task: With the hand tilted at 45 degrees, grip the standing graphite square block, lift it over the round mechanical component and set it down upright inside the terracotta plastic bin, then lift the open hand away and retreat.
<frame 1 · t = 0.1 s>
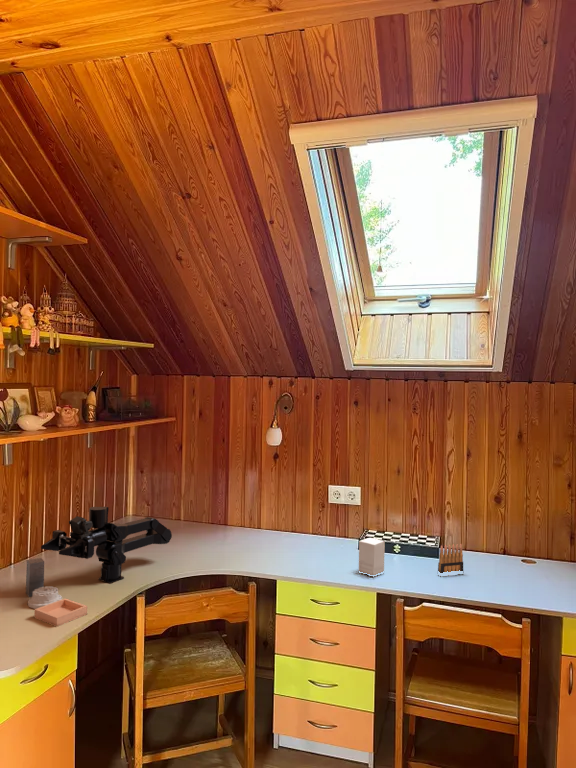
hand: (50, 550, 179), 17 cm above the table, tool horizontal, fingers open, 9 cm apart
mechanical component: (45, 604, 178), on the table
graphite square block: (34, 593, 185), on the table
ammunition clip: (450, 575, 216), on the table
supplement box: (371, 573, 216), on the table
terracotta bin: (61, 615, 168), on the table
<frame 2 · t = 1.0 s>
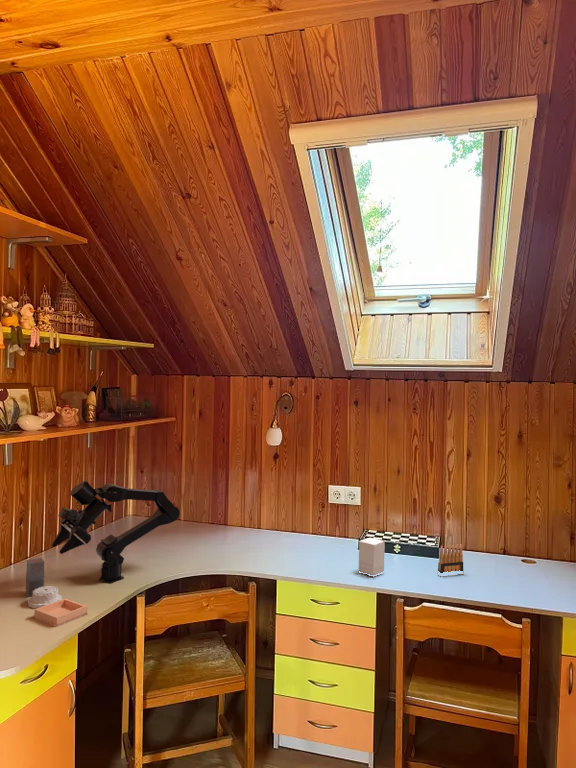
hand: (56, 549, 189), 14 cm above the table, tool tilted 45°, fingers open, 9 cm apart
nothing on the table moved.
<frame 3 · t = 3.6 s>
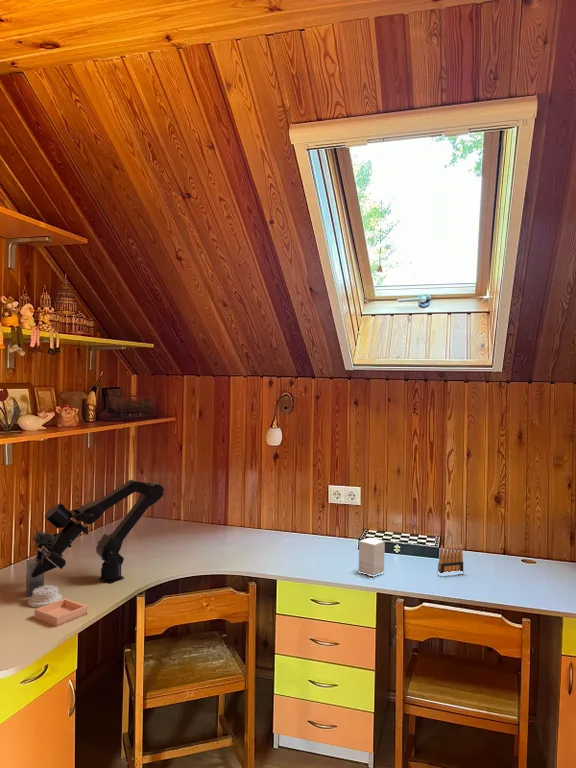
hand: (30, 574, 184), 7 cm above the table, tool tilted 45°, fingers closed on graphite square block, 4 cm apart
graphite square block: (34, 593, 185), on the table, touching gripper
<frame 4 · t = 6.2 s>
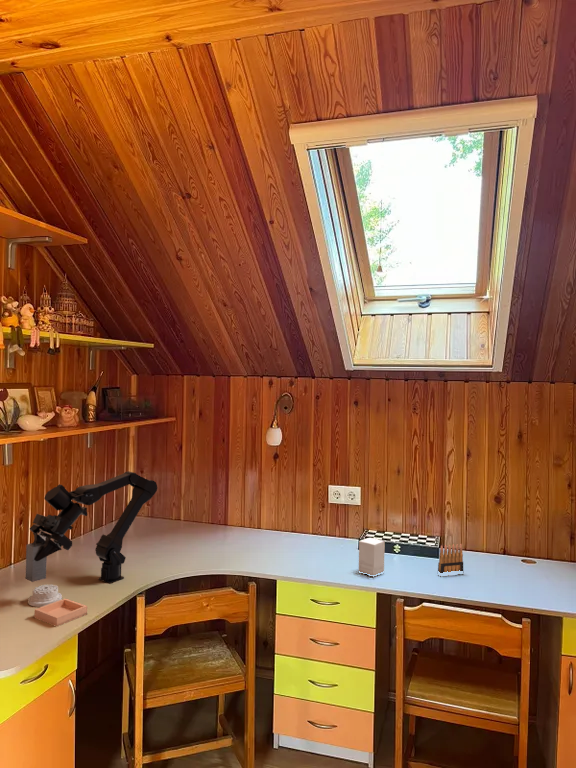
hand: (32, 558, 178), 14 cm above the table, tool tilted 45°, fingers closed on graphite square block, 4 cm apart
graphite square block: (35, 578, 179), point 7 cm above the table, touching gripper
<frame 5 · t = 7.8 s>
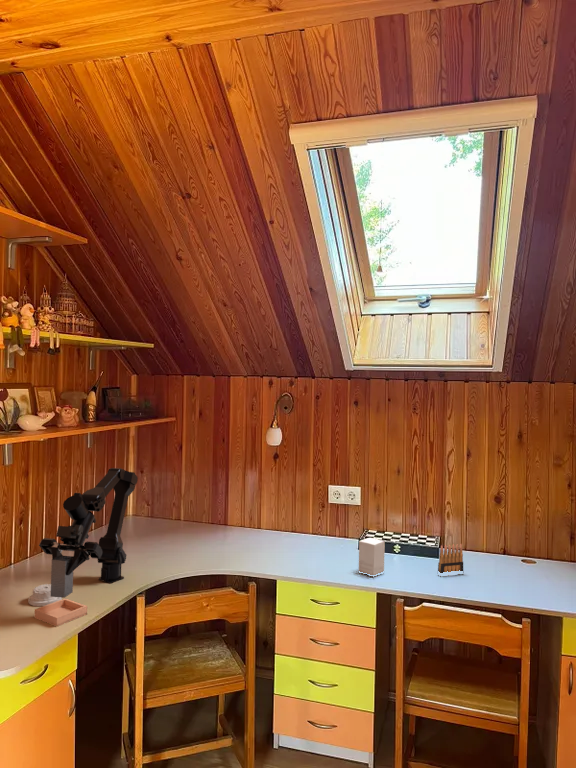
hand: (59, 574, 167), 13 cm above the table, tool tilted 45°, fingers closed on graphite square block, 4 cm apart
graphite square block: (61, 594, 169), point 7 cm above the table, touching gripper
when the fingers open (9 cm above the table, at t = 9.0 s): graphite square block drops 2 cm, resting on terracotta bin.
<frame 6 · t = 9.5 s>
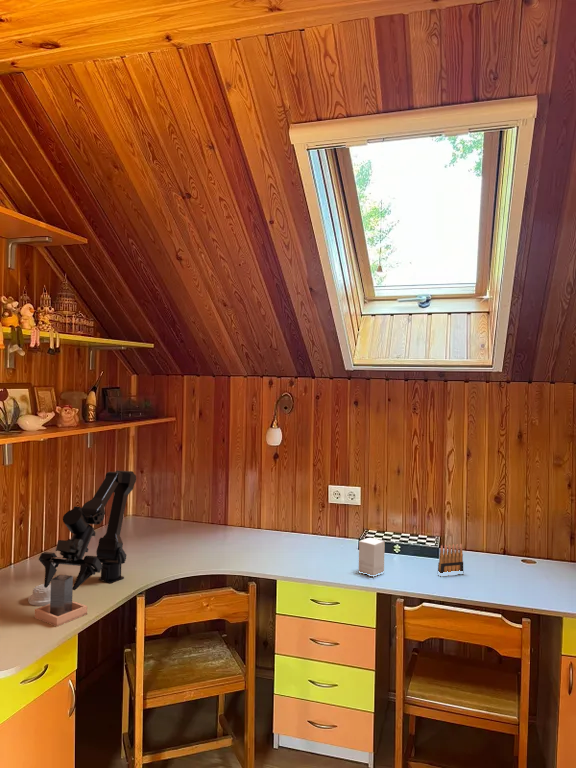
hand: (59, 588, 167), 9 cm above the table, tool tilted 45°, fingers open, 9 cm apart
graphite square block: (61, 614, 168), point 1 cm above the table, touching terracotta bin
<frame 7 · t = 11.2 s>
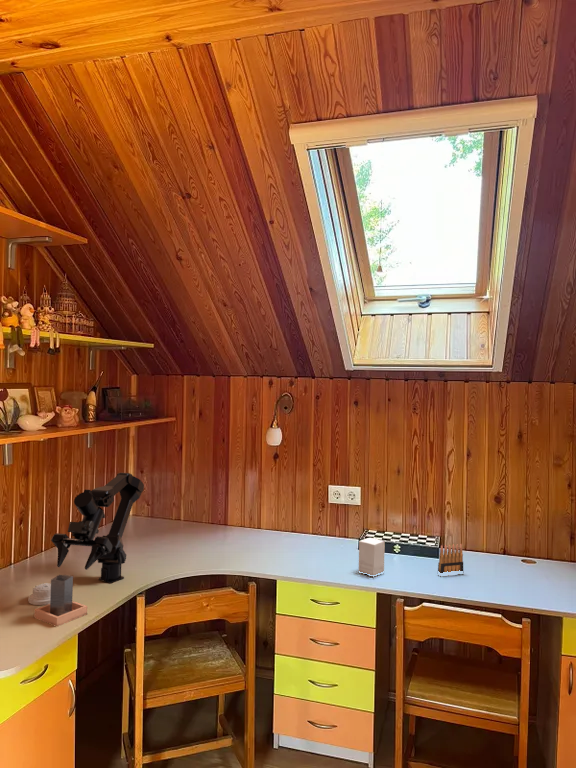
hand: (71, 567, 174), 13 cm above the table, tool tilted 45°, fingers open, 9 cm apart
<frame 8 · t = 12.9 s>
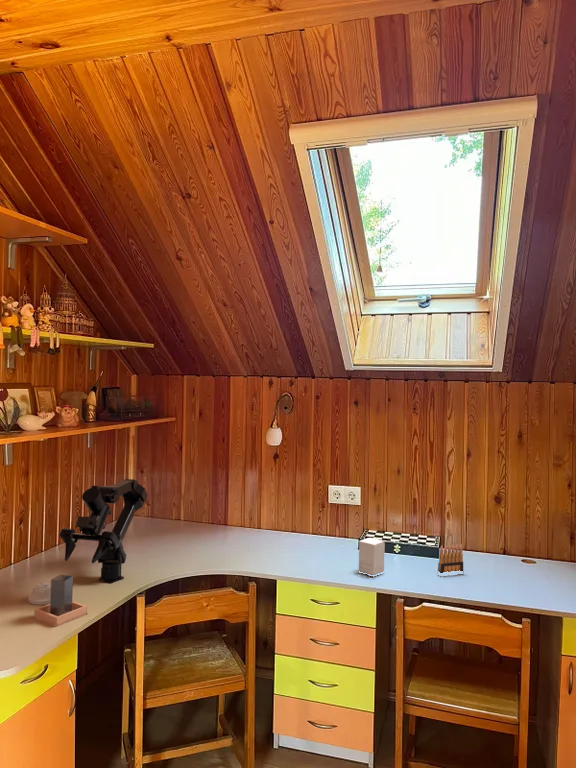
hand: (79, 561, 178), 14 cm above the table, tool tilted 45°, fingers open, 9 cm apart
at the end: graphite square block 0.0 cm off-centre on the terracotta bin, point 0.6 cm above the terracotta bin's base; graphite square block tilted 0°; the gripper is holding nothing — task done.
